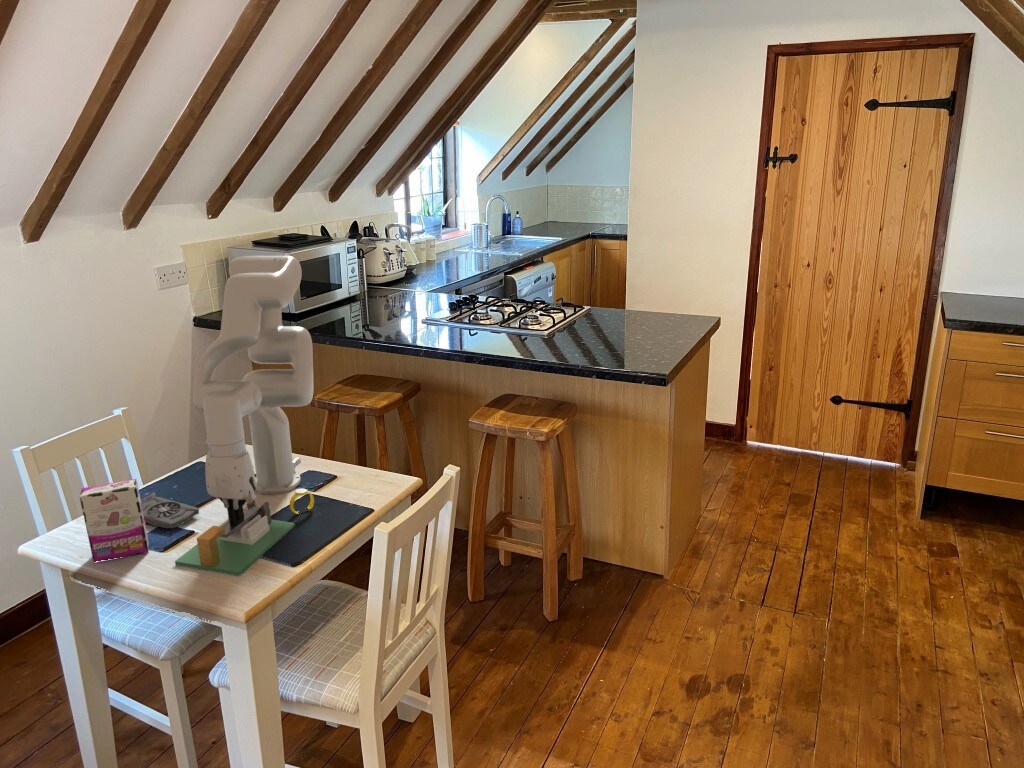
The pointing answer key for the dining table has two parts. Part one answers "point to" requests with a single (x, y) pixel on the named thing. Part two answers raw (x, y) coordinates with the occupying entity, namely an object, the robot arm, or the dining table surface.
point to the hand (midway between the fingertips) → (237, 522)
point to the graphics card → (166, 512)
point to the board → (241, 544)
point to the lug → (209, 546)
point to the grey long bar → (247, 516)
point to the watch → (299, 493)
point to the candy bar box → (114, 520)
